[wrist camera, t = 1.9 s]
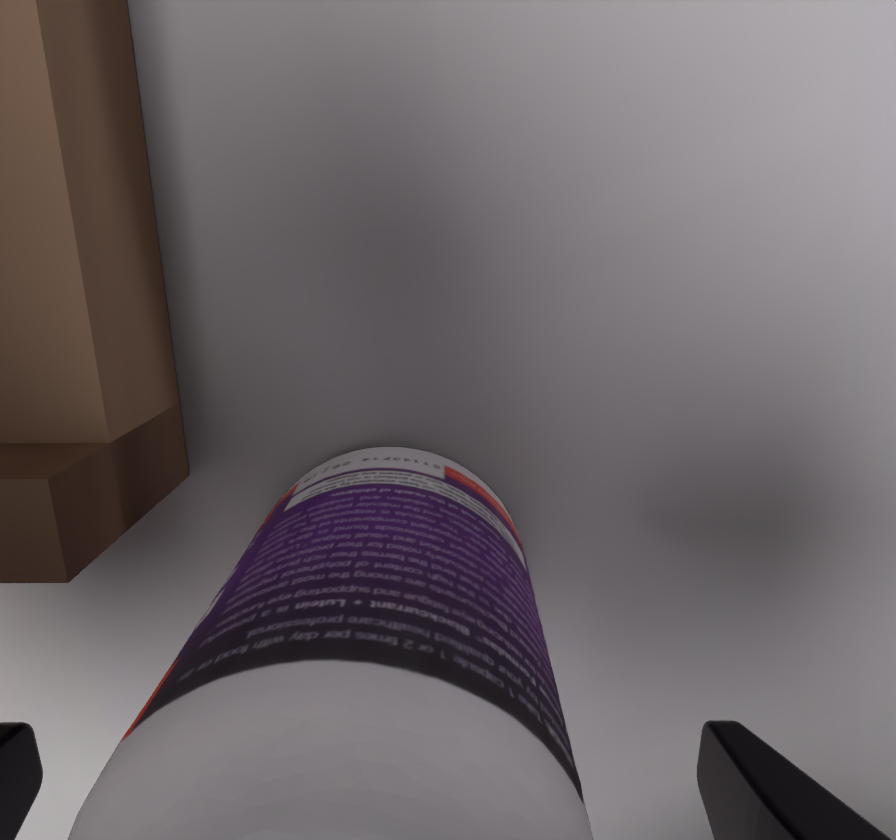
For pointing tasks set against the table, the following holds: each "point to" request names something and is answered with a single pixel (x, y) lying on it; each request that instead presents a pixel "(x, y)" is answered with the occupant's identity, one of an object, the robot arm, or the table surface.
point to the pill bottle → (357, 679)
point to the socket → (78, 294)
